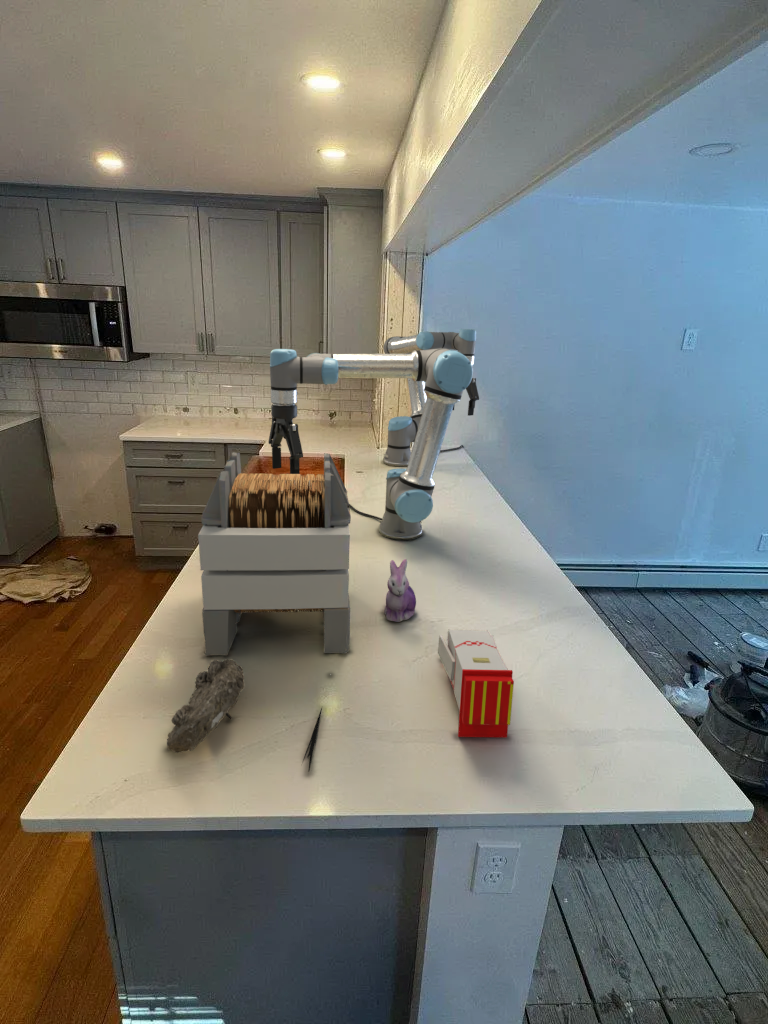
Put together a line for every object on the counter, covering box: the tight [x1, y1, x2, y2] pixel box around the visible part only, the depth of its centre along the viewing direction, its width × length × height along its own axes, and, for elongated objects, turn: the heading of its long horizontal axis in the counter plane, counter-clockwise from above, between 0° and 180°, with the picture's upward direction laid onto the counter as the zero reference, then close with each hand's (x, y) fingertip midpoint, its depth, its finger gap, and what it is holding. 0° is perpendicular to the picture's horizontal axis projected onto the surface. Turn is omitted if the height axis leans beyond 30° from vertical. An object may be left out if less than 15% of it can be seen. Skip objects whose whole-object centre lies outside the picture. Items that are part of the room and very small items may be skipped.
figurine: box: [384, 558, 417, 623], centre depth 145 cm, size 9×10×15 cm
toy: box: [437, 628, 515, 738], centre depth 117 cm, size 12×13×30 cm
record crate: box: [197, 451, 352, 657], centre depth 136 cm, size 34×33×41 cm
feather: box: [301, 673, 332, 771], centre depth 108 cm, size 2×28×2 cm
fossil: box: [166, 658, 245, 754], centre depth 106 cm, size 22×10×15 cm
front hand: (285, 473), depth 174 cm, fingers open, 13 cm apart
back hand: (460, 412), depth 260 cm, fingers open, 13 cm apart
